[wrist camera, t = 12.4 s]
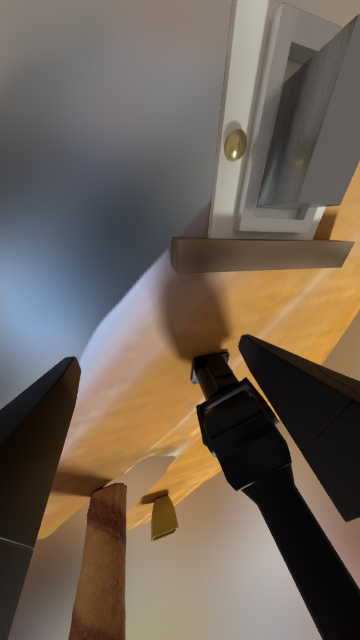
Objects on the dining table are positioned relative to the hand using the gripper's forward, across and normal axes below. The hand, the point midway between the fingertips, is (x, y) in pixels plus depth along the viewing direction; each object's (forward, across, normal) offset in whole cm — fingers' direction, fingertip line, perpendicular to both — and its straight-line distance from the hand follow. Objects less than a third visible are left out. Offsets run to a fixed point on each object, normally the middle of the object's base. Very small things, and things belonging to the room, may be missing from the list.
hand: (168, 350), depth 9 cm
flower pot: (+12, 0, +87) cm, 88 cm away
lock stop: (+11, -14, -12) cm, 21 cm away
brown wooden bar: (+12, -14, -4) cm, 18 cm away
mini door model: (+12, -14, -12) cm, 22 cm away
